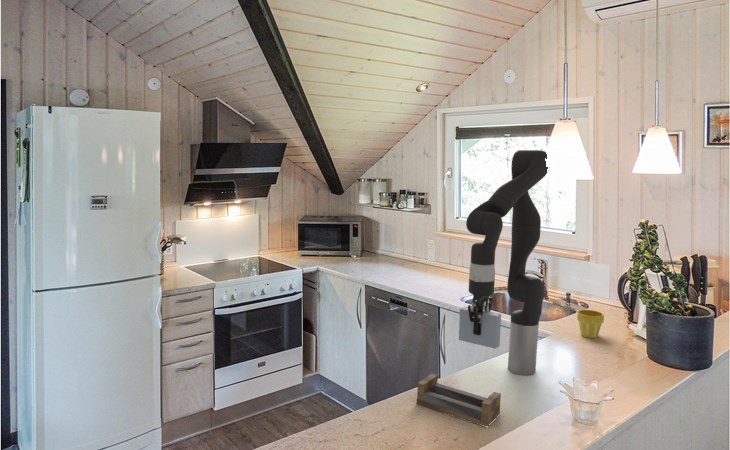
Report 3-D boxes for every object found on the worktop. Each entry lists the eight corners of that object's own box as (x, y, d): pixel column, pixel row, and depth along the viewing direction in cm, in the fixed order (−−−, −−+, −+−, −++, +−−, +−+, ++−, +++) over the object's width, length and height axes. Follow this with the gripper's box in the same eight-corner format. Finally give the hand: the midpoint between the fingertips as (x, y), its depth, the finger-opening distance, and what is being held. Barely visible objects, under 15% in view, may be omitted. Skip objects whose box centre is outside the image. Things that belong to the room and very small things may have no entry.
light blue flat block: (462, 337, 164) (464, 306, 163) (499, 345, 157) (501, 313, 156) (458, 339, 161) (460, 308, 160) (495, 348, 155) (497, 316, 153)
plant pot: (570, 332, 222) (572, 309, 220) (591, 330, 224) (592, 308, 223) (586, 340, 212) (588, 317, 210) (608, 338, 214) (610, 315, 213)
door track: (431, 393, 161) (432, 373, 160) (499, 415, 148) (501, 393, 147) (416, 404, 154) (417, 383, 153) (487, 427, 141) (488, 405, 140)
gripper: (479, 271, 164) (477, 324, 167) (460, 280, 153) (457, 336, 155) (502, 275, 160) (499, 329, 162) (484, 284, 149) (481, 342, 151)
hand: (479, 332), depth 159 cm, fingers closed on light blue flat block, 3 cm apart
